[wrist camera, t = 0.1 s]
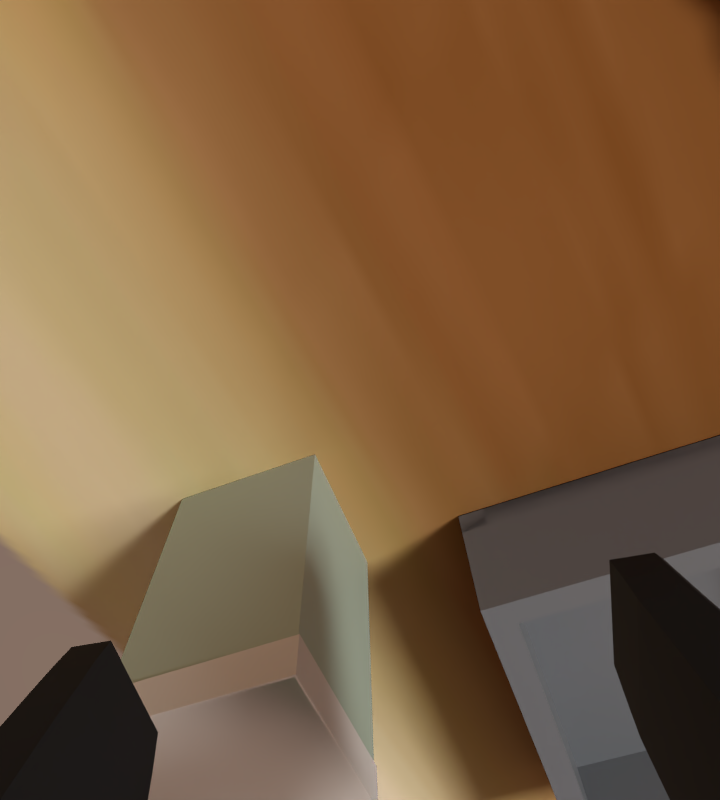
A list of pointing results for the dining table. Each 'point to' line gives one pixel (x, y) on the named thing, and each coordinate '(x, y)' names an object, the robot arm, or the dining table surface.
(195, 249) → the dining table surface
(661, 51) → the dining table surface
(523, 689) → the tote
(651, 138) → the dining table surface
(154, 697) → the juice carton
